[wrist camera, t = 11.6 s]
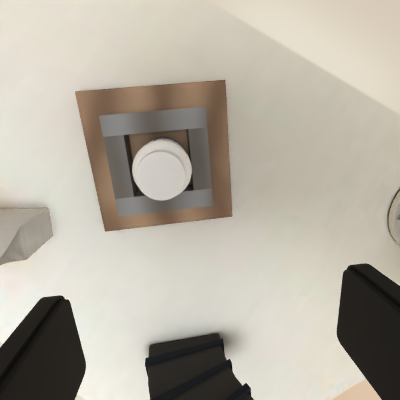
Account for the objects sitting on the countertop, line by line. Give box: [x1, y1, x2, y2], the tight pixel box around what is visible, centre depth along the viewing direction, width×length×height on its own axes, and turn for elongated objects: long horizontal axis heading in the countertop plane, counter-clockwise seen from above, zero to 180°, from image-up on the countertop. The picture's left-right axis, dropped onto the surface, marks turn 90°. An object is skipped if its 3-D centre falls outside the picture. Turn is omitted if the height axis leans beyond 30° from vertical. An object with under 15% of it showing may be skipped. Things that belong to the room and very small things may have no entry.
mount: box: [75, 80, 232, 231], centre depth 28 cm, size 16×16×4 cm
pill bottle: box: [132, 137, 192, 201], centre depth 24 cm, size 5×5×10 cm
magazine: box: [145, 334, 254, 400], centre depth 33 cm, size 4×13×15 cm, turn 96°
